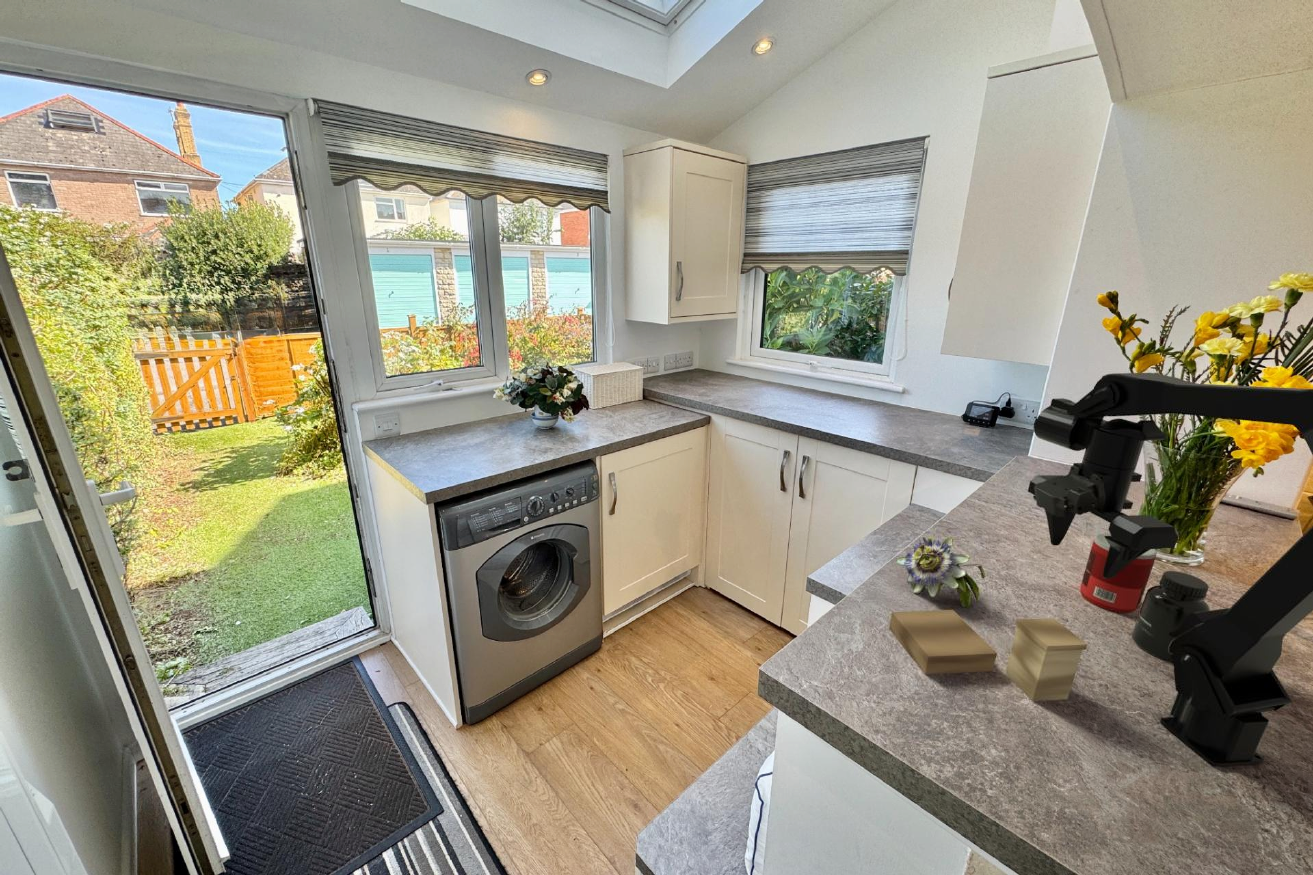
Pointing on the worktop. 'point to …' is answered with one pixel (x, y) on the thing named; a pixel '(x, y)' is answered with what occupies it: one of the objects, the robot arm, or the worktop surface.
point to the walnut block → (942, 642)
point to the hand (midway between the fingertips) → (1079, 560)
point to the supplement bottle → (1168, 611)
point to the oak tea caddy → (1044, 658)
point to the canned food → (1115, 579)
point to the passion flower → (939, 569)
